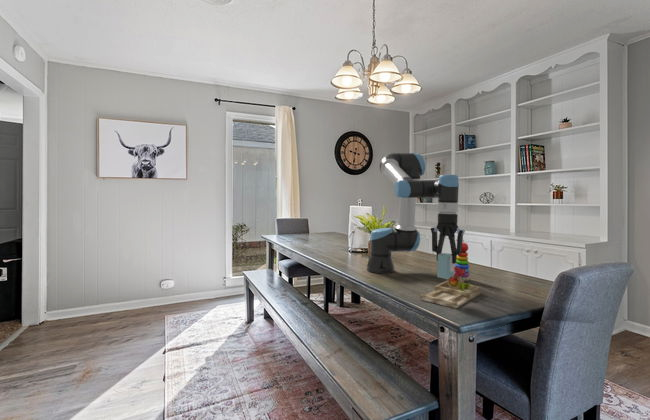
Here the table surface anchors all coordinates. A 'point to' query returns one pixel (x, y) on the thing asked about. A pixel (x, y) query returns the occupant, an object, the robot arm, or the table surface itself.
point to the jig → (451, 295)
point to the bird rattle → (454, 281)
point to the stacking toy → (463, 262)
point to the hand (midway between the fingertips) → (446, 270)
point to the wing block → (444, 266)
